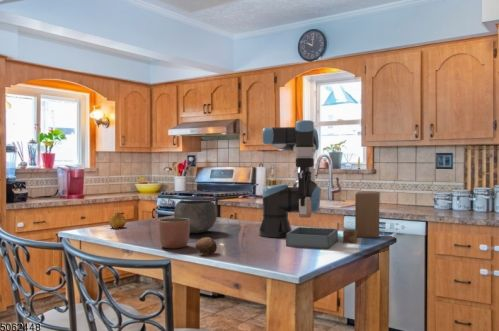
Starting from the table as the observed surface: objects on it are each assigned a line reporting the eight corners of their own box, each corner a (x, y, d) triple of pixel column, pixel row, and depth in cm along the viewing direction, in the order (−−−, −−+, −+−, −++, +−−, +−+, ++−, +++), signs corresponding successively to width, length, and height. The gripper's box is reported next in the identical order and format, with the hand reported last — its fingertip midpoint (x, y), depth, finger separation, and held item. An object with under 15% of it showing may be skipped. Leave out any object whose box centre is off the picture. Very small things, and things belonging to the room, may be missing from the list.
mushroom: (195, 242, 170) (200, 230, 167) (215, 250, 171) (220, 238, 168) (190, 256, 163) (196, 244, 160) (211, 264, 164) (216, 252, 161)
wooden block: (379, 235, 205) (379, 191, 205) (378, 238, 196) (378, 193, 195) (357, 233, 208) (357, 191, 208) (355, 237, 199) (355, 192, 199)
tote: (286, 246, 179) (285, 233, 179) (298, 238, 197) (298, 227, 197) (328, 249, 173) (328, 236, 173) (337, 240, 191) (337, 229, 191)
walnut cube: (343, 242, 187) (343, 230, 187) (345, 240, 191) (345, 229, 191) (355, 243, 185) (355, 231, 185) (357, 241, 190) (357, 229, 189)
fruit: (122, 224, 225) (123, 210, 229) (106, 226, 225) (107, 211, 229) (126, 230, 232) (128, 216, 236) (111, 232, 232) (112, 218, 236)
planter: (175, 251, 170) (175, 222, 170) (152, 248, 177) (151, 220, 177) (196, 245, 181) (196, 219, 180) (173, 243, 187) (173, 217, 187)
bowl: (165, 234, 208) (165, 202, 208) (188, 228, 227) (187, 199, 227) (204, 237, 200) (204, 204, 200) (224, 230, 219) (223, 200, 219)
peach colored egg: (297, 217, 185) (297, 200, 185) (300, 215, 190) (300, 199, 189) (309, 217, 183) (309, 200, 183) (312, 216, 188) (312, 199, 188)
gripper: (308, 157, 176) (308, 216, 177) (318, 157, 193) (318, 211, 193) (290, 157, 179) (290, 215, 179) (301, 157, 196) (301, 210, 196)
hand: (304, 213), depth 186 cm, fingers closed on peach colored egg, 5 cm apart
